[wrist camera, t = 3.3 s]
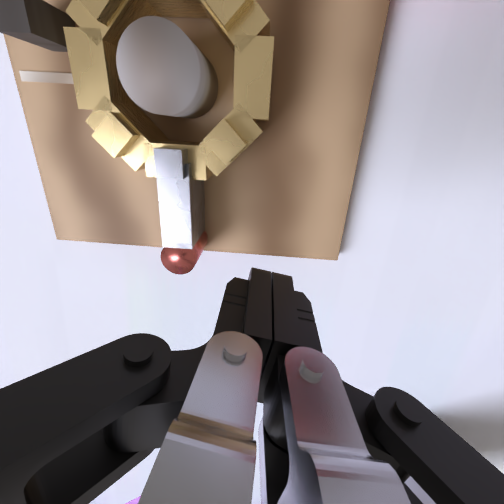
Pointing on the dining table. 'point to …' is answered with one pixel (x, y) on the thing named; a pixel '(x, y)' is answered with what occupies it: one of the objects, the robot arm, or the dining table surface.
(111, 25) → the gold ring with lever
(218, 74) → the jig board
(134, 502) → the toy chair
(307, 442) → the robot arm
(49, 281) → the dining table surface
